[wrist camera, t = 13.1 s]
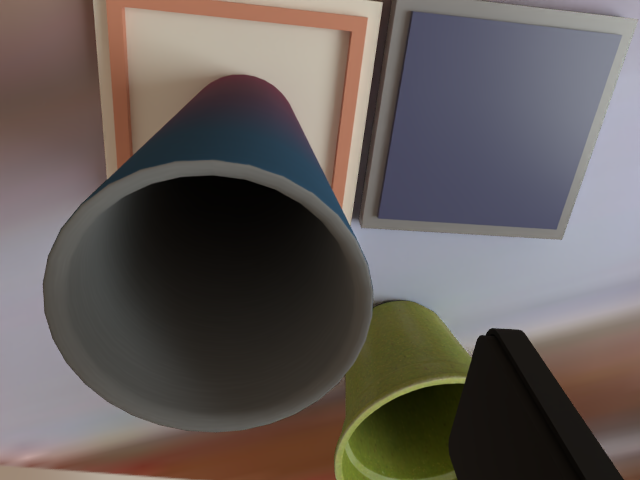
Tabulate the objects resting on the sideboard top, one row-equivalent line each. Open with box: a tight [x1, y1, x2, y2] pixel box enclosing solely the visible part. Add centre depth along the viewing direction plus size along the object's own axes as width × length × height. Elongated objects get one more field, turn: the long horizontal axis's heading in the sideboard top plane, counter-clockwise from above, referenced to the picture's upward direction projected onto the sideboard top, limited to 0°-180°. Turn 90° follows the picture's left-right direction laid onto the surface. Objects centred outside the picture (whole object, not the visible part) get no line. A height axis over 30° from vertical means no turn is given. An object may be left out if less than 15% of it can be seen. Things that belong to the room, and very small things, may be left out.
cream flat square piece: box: [93, 0, 383, 226], centre depth 24 cm, size 12×12×1 cm
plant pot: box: [334, 301, 472, 480], centre depth 28 cm, size 9×9×9 cm
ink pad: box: [359, 0, 638, 240], centre depth 25 cm, size 11×11×1 cm
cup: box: [43, 74, 373, 432], centre depth 18 cm, size 7×7×15 cm
